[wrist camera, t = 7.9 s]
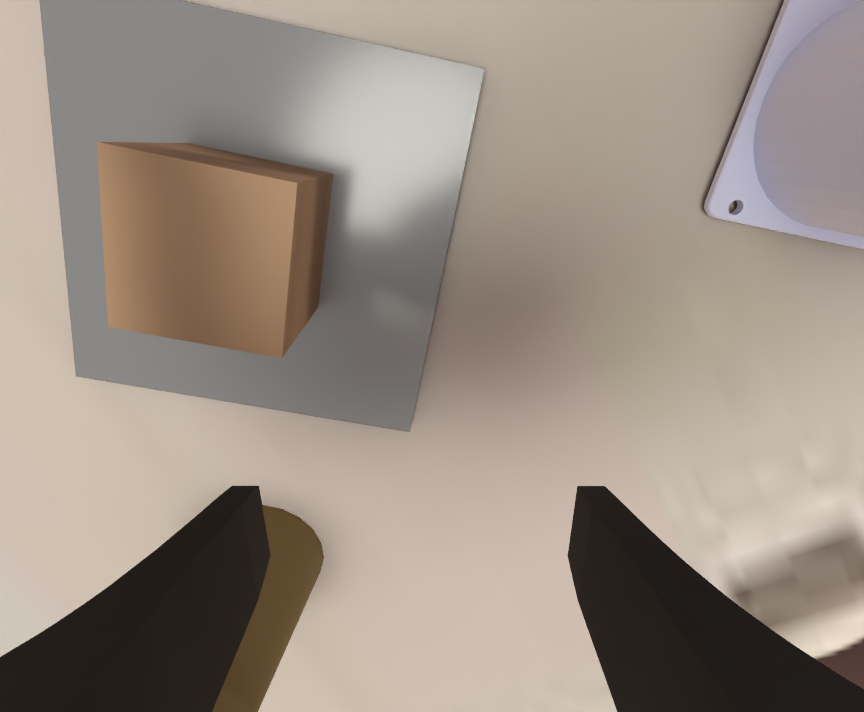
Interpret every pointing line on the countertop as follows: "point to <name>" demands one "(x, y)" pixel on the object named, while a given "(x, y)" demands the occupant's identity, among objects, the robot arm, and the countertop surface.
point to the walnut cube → (211, 244)
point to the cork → (273, 610)
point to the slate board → (282, 142)
